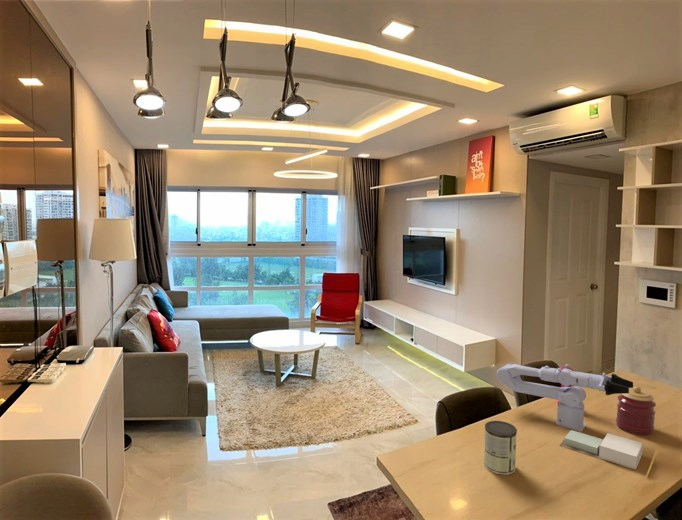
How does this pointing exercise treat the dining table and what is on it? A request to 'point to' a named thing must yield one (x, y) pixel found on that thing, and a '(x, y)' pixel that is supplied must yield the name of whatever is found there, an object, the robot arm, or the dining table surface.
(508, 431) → the coffee can
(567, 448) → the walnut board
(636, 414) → the canister
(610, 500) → the dining table surface
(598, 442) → the sage tile
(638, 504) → the dining table surface
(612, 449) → the white rounded block
